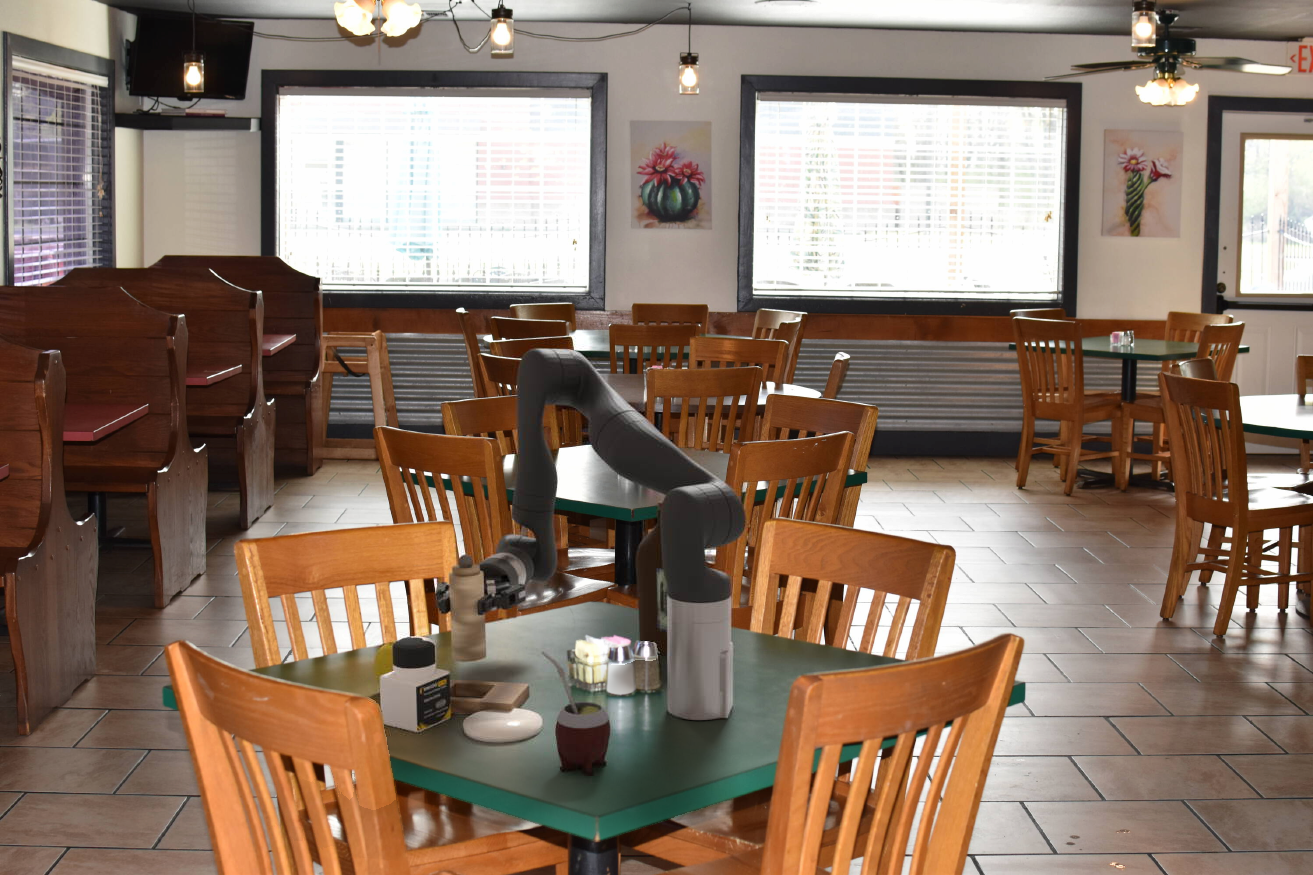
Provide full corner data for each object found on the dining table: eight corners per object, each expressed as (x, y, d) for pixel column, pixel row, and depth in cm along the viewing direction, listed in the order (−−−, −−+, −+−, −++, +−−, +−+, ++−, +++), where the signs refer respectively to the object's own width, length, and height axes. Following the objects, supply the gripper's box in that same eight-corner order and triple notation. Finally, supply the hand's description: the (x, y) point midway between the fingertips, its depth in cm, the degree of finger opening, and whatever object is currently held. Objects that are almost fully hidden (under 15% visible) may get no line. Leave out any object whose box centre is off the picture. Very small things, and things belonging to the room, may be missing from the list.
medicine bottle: (418, 733, 184) (415, 650, 182) (380, 724, 187) (377, 642, 186) (452, 718, 190) (449, 637, 188) (414, 709, 193) (412, 629, 192)
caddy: (529, 696, 199) (529, 683, 198) (512, 717, 190) (512, 703, 190) (446, 691, 201) (446, 678, 201) (426, 711, 192) (425, 698, 192)
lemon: (403, 699, 198) (401, 647, 197) (368, 696, 199) (367, 645, 198) (417, 687, 203) (415, 636, 202) (383, 685, 204) (382, 634, 203)
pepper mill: (490, 652, 196) (487, 551, 195) (480, 662, 192) (476, 558, 190) (458, 651, 197) (454, 550, 195) (447, 660, 193) (443, 558, 191)
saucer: (551, 716, 190) (551, 710, 190) (530, 744, 179) (529, 737, 179) (477, 712, 192) (477, 705, 192) (452, 739, 181) (452, 732, 181)
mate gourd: (617, 773, 169) (617, 660, 167) (558, 782, 167) (556, 667, 165) (599, 753, 176) (598, 644, 174) (542, 761, 174) (540, 650, 171)
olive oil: (626, 642, 226) (625, 498, 223) (683, 635, 231) (683, 493, 227) (650, 659, 217) (650, 509, 213) (709, 651, 221) (709, 504, 217)
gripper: (452, 555, 208) (413, 581, 192) (540, 558, 206) (508, 583, 189) (453, 602, 209) (415, 631, 193) (541, 605, 207) (510, 634, 190)
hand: (461, 607), depth 191 cm, fingers closed on pepper mill, 5 cm apart
